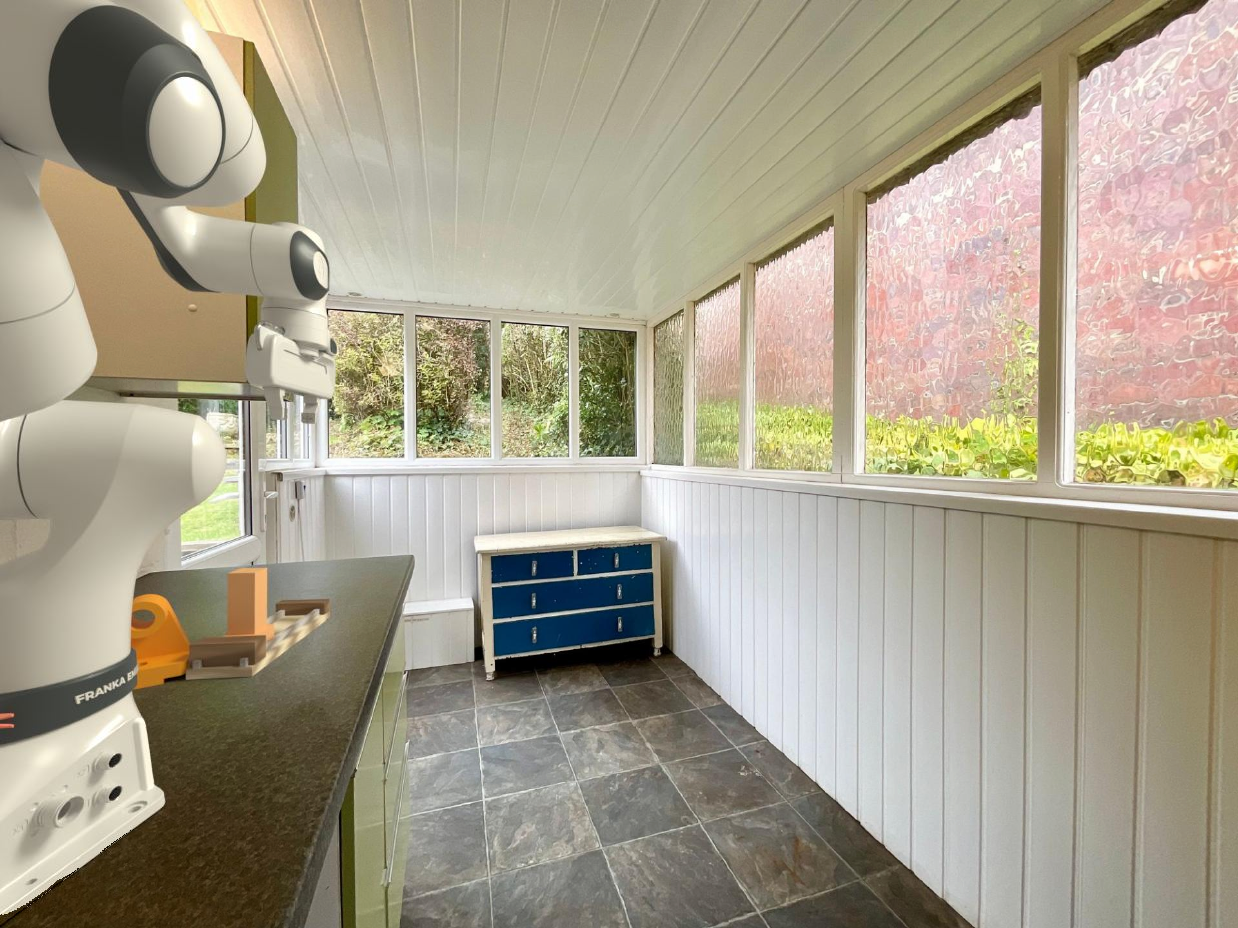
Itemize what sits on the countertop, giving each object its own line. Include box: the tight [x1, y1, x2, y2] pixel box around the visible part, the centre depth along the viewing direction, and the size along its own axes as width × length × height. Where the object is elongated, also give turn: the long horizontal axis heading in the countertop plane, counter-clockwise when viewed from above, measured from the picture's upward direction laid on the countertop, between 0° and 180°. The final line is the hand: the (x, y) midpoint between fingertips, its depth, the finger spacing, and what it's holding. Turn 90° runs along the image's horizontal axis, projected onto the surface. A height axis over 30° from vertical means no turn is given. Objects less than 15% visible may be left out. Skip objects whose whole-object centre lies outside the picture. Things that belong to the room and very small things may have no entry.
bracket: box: [131, 593, 192, 691], centre depth 72 cm, size 11×7×12 cm
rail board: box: [185, 598, 331, 681], centre depth 86 cm, size 27×9×5 cm, turn 9°
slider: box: [220, 567, 274, 642], centre depth 80 cm, size 6×5×13 cm
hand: (294, 421), depth 77 cm, fingers open, 8 cm apart
